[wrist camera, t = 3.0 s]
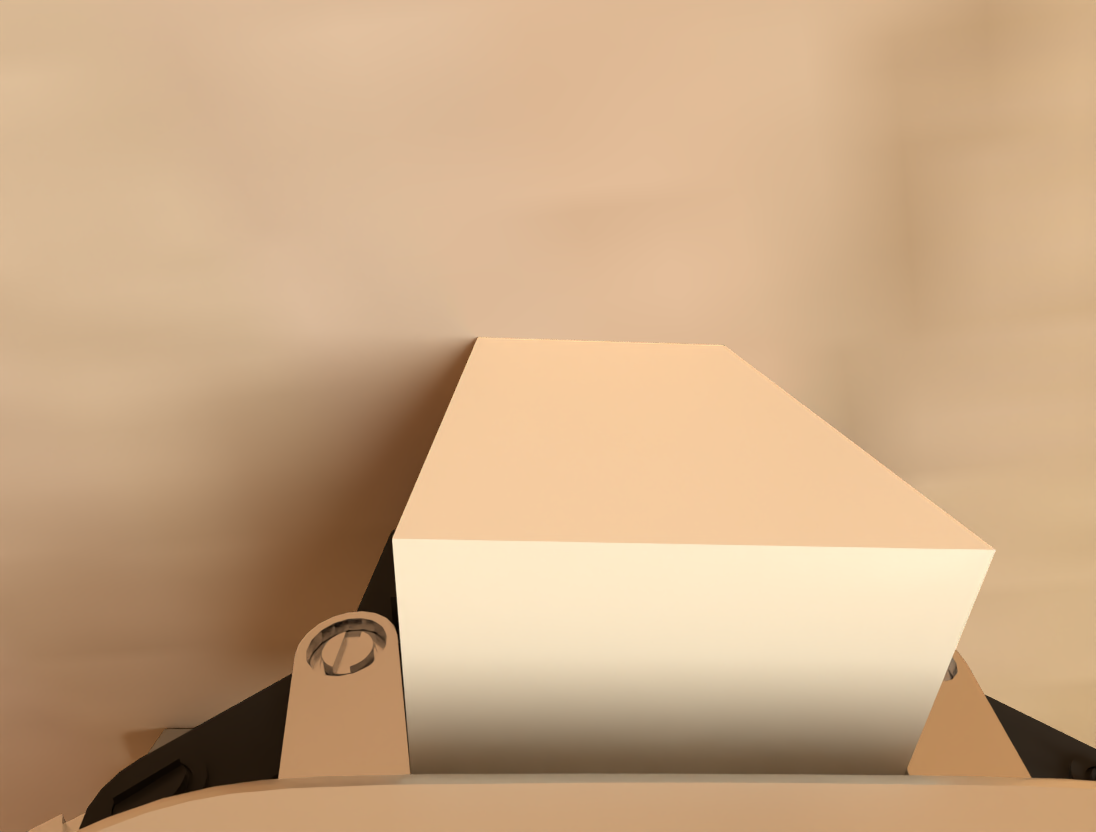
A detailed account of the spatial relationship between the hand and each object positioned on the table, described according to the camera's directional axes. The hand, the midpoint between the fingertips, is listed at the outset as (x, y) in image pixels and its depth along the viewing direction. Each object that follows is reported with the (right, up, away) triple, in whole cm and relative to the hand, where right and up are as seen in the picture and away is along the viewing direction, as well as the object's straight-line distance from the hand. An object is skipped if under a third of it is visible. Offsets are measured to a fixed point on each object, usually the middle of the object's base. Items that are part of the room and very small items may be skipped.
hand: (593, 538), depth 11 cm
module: (0, 0, +1) cm, 1 cm away
